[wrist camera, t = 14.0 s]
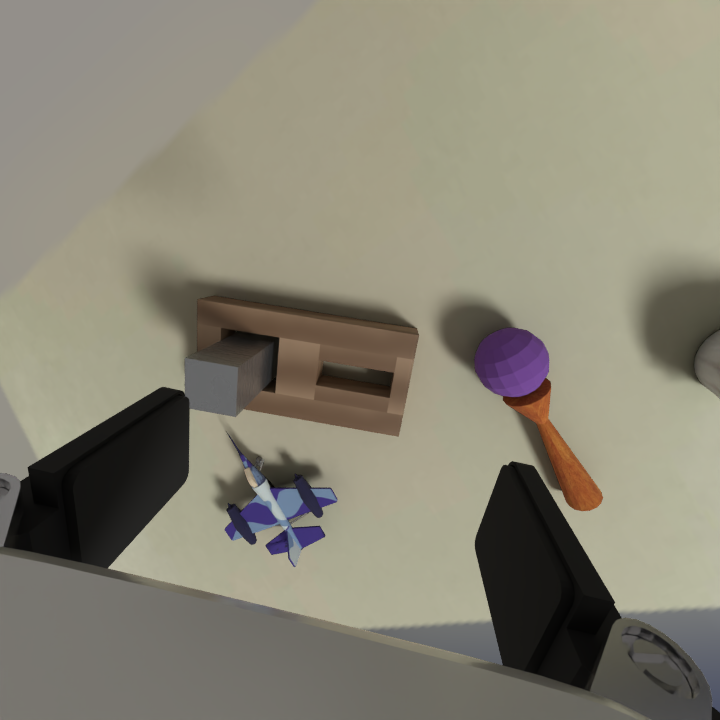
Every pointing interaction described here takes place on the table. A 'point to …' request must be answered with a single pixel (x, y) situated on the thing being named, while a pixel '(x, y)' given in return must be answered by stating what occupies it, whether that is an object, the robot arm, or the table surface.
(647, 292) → the table surface
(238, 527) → the toy airplane
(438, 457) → the table surface
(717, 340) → the cupcake
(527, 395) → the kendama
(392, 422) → the socket block
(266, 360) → the square peg
